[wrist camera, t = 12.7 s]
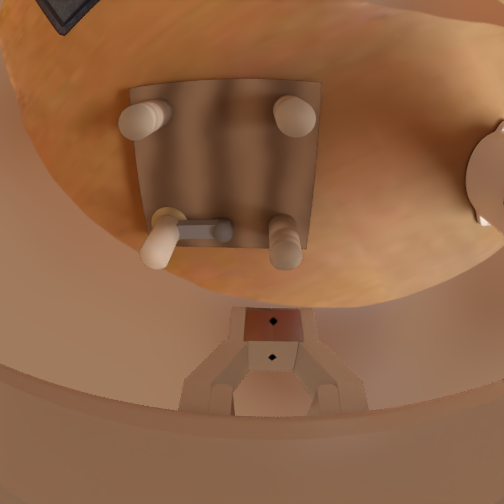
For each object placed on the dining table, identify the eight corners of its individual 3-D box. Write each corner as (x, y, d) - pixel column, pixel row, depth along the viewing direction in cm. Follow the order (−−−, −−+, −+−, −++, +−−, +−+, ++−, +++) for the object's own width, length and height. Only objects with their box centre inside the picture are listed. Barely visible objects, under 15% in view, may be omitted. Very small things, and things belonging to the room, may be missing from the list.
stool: (316, 82, 30) (336, 85, 22) (303, 238, 43) (313, 282, 35) (138, 86, 31) (100, 94, 23) (156, 234, 43) (133, 276, 35)
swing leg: (233, 213, 37) (227, 243, 32) (234, 237, 39) (229, 270, 34) (154, 215, 38) (136, 243, 32) (159, 238, 40) (143, 269, 34)
